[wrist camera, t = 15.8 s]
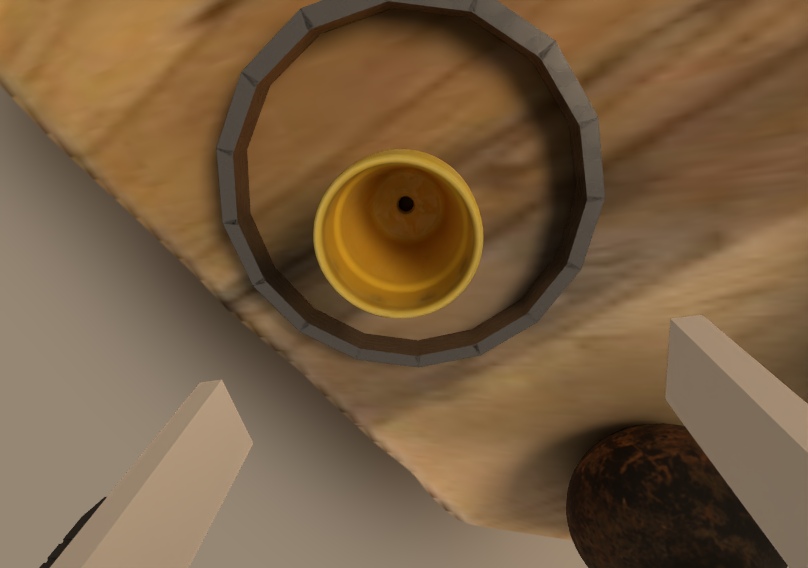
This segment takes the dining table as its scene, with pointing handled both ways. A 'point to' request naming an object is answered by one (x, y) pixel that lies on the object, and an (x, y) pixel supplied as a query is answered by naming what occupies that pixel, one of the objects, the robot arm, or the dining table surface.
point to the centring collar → (337, 9)
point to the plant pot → (398, 234)
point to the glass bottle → (660, 506)
